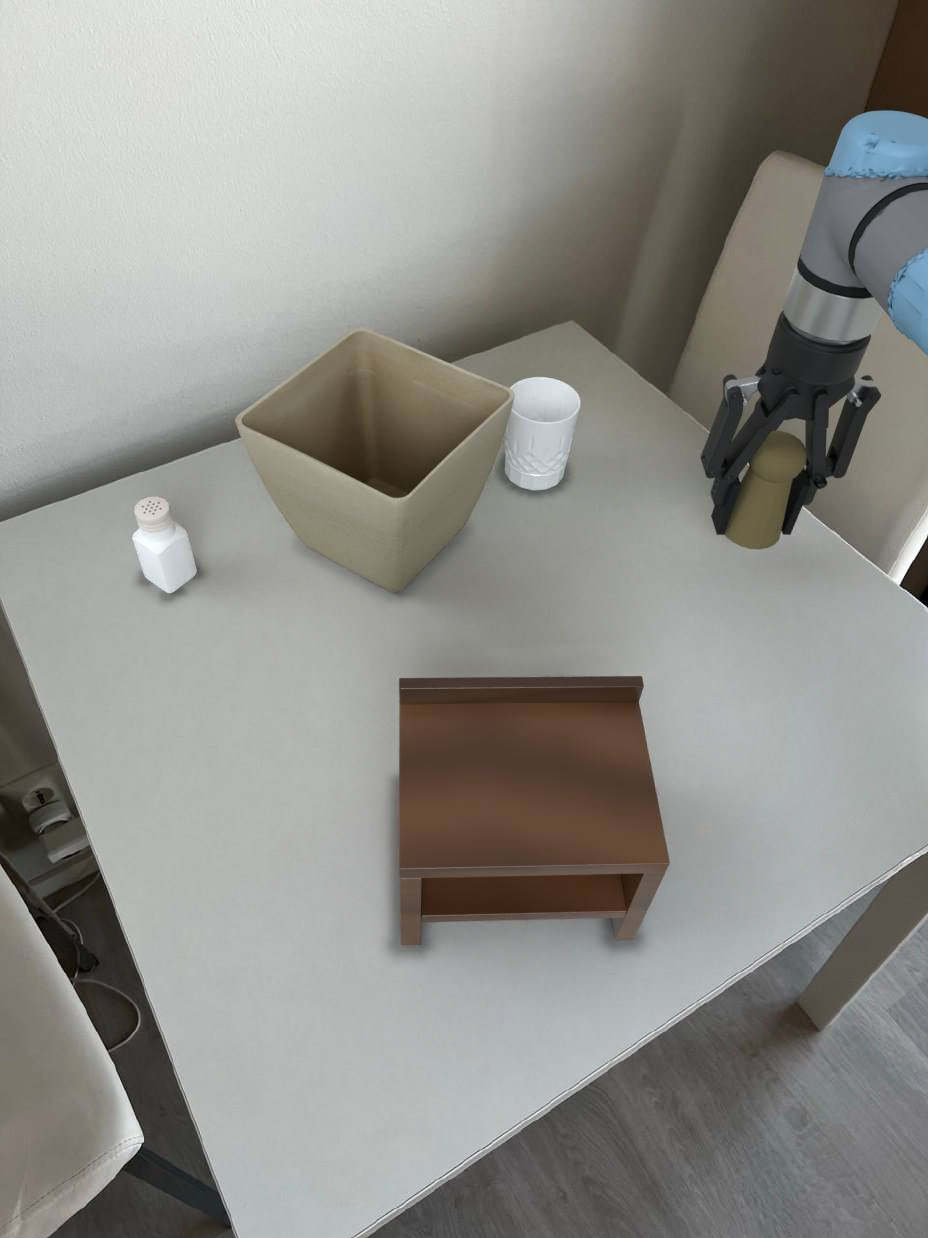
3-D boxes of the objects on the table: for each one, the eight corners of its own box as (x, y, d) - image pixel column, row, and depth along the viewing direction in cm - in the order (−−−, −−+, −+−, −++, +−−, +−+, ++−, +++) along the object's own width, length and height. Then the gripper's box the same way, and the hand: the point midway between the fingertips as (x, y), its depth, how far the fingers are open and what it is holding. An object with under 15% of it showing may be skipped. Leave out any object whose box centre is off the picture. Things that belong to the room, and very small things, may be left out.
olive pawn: (720, 503, 97) (749, 416, 89) (780, 513, 97) (814, 426, 88) (719, 543, 94) (749, 456, 85) (781, 554, 93) (817, 467, 85)
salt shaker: (170, 597, 93) (149, 529, 86) (142, 578, 95) (120, 509, 87) (200, 574, 95) (183, 505, 88) (173, 556, 97) (153, 486, 89)
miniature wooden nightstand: (633, 940, 73) (676, 850, 61) (400, 946, 72) (398, 855, 60) (608, 781, 82) (642, 675, 70) (401, 784, 81) (399, 677, 69)
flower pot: (253, 548, 98) (228, 418, 85) (365, 451, 108) (358, 321, 95) (402, 632, 92) (400, 505, 79) (506, 520, 102) (519, 391, 89)
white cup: (582, 471, 108) (595, 400, 100) (537, 505, 104) (547, 433, 96) (530, 439, 111) (539, 367, 103) (484, 470, 107) (490, 398, 99)
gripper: (923, 297, 80) (831, 499, 98) (703, 294, 79) (650, 499, 97) (956, 348, 76) (854, 551, 93) (722, 346, 75) (663, 552, 92)
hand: (750, 524), depth 95 cm, fingers closed on olive pawn, 6 cm apart
